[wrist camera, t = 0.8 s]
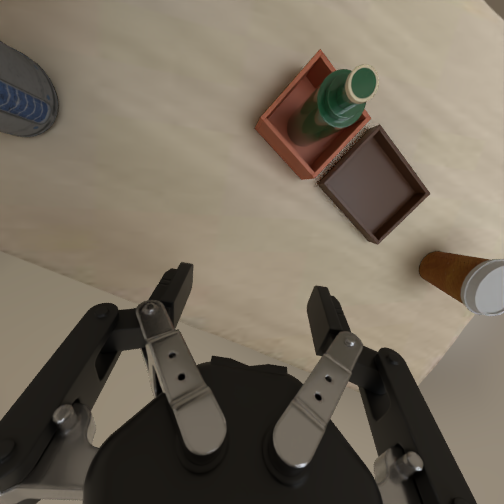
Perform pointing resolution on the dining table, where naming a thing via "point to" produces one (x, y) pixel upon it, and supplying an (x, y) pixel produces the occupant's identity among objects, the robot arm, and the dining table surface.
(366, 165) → the tray
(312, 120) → the bottle
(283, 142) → the bin
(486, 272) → the disposable coffee cup
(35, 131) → the beverage bottle
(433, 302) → the dining table surface
